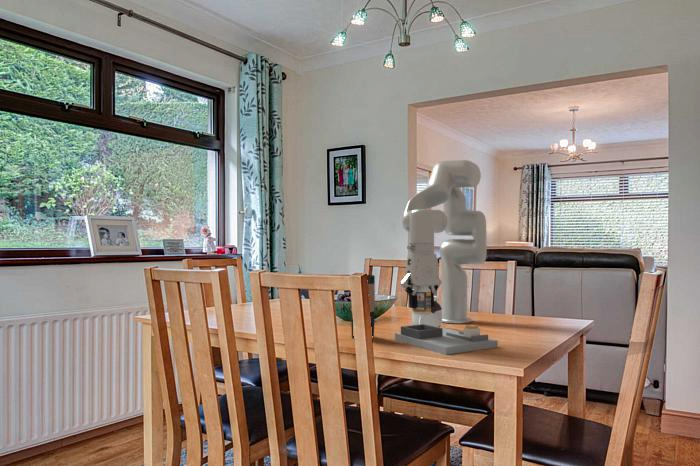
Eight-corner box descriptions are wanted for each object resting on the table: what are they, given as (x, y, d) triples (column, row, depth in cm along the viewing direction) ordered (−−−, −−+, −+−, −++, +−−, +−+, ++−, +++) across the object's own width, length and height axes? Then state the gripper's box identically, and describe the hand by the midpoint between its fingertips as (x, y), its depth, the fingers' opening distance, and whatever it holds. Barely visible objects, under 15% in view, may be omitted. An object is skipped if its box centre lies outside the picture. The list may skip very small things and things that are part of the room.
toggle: (463, 337, 158) (463, 325, 158) (472, 336, 160) (472, 324, 160) (471, 339, 155) (471, 327, 155) (479, 338, 157) (479, 326, 157)
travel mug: (379, 337, 169) (379, 275, 169) (362, 340, 164) (362, 276, 164) (362, 334, 175) (363, 274, 175) (346, 337, 169) (346, 275, 170)
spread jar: (430, 326, 191) (430, 294, 191) (452, 331, 181) (452, 297, 182) (404, 329, 185) (404, 296, 185) (425, 334, 175) (426, 299, 175)
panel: (395, 339, 166) (395, 325, 166) (443, 333, 176) (443, 320, 176) (445, 354, 145) (445, 338, 145) (497, 347, 156) (497, 331, 156)
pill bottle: (430, 315, 159) (430, 282, 159) (411, 314, 160) (411, 281, 160) (431, 312, 165) (431, 280, 165) (413, 312, 166) (413, 280, 166)
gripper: (406, 249, 155) (406, 310, 155) (451, 249, 164) (450, 307, 164) (392, 248, 161) (391, 307, 161) (435, 248, 170) (435, 304, 170)
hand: (421, 306), depth 162 cm, fingers closed on pill bottle, 5 cm apart
